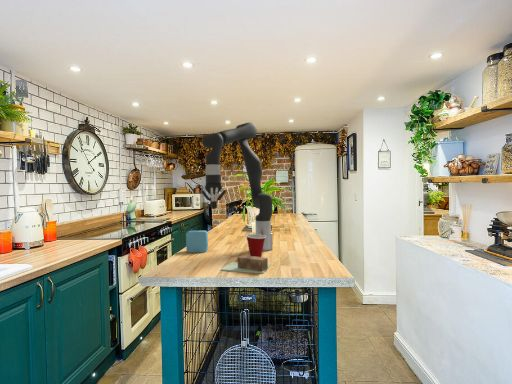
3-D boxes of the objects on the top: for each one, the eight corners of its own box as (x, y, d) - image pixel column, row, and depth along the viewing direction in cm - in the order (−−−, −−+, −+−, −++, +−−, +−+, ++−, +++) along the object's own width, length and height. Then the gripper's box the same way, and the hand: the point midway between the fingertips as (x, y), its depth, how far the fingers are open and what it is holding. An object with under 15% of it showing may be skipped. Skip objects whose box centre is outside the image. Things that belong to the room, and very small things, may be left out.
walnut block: (237, 257, 147) (262, 260, 141) (243, 254, 152) (267, 257, 145) (237, 267, 148) (262, 271, 141) (243, 265, 152) (267, 268, 145)
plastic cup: (264, 260, 164) (264, 237, 163) (244, 259, 166) (243, 236, 166) (268, 255, 174) (267, 233, 174) (248, 255, 176) (248, 233, 176)
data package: (208, 250, 190) (207, 230, 189) (206, 252, 185) (206, 231, 185) (188, 250, 191) (188, 230, 190) (186, 252, 186) (185, 231, 186)
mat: (220, 270, 146) (220, 269, 146) (231, 263, 159) (231, 261, 159) (263, 273, 140) (263, 272, 140) (270, 265, 153) (270, 264, 153)
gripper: (224, 174, 164) (225, 208, 165) (198, 174, 160) (199, 209, 161) (228, 173, 157) (228, 209, 158) (201, 173, 153) (201, 210, 153)
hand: (213, 209), depth 159 cm, fingers closed
